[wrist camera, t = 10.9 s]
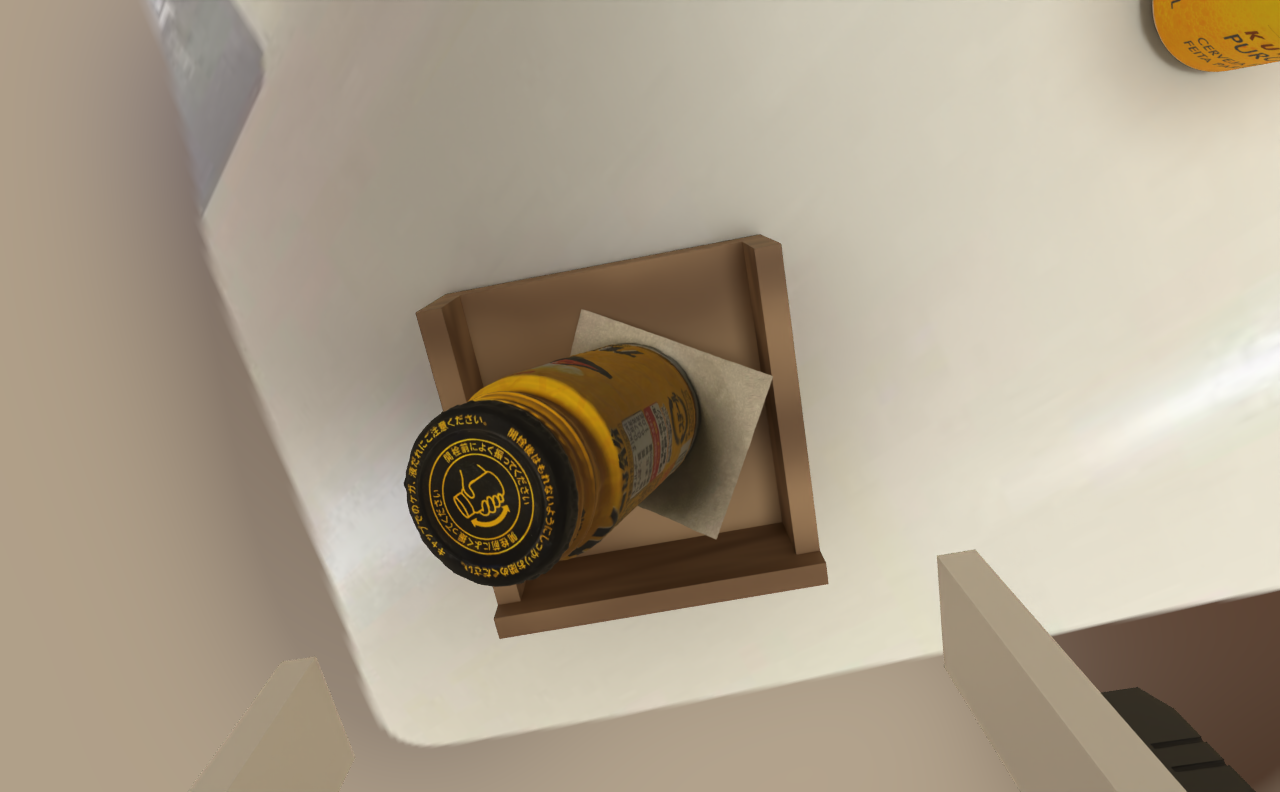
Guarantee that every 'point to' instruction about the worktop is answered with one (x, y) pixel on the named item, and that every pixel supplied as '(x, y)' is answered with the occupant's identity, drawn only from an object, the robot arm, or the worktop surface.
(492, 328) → the wooden serving tray
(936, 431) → the worktop surface
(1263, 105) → the worktop surface
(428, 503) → the condiment
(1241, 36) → the beer can
